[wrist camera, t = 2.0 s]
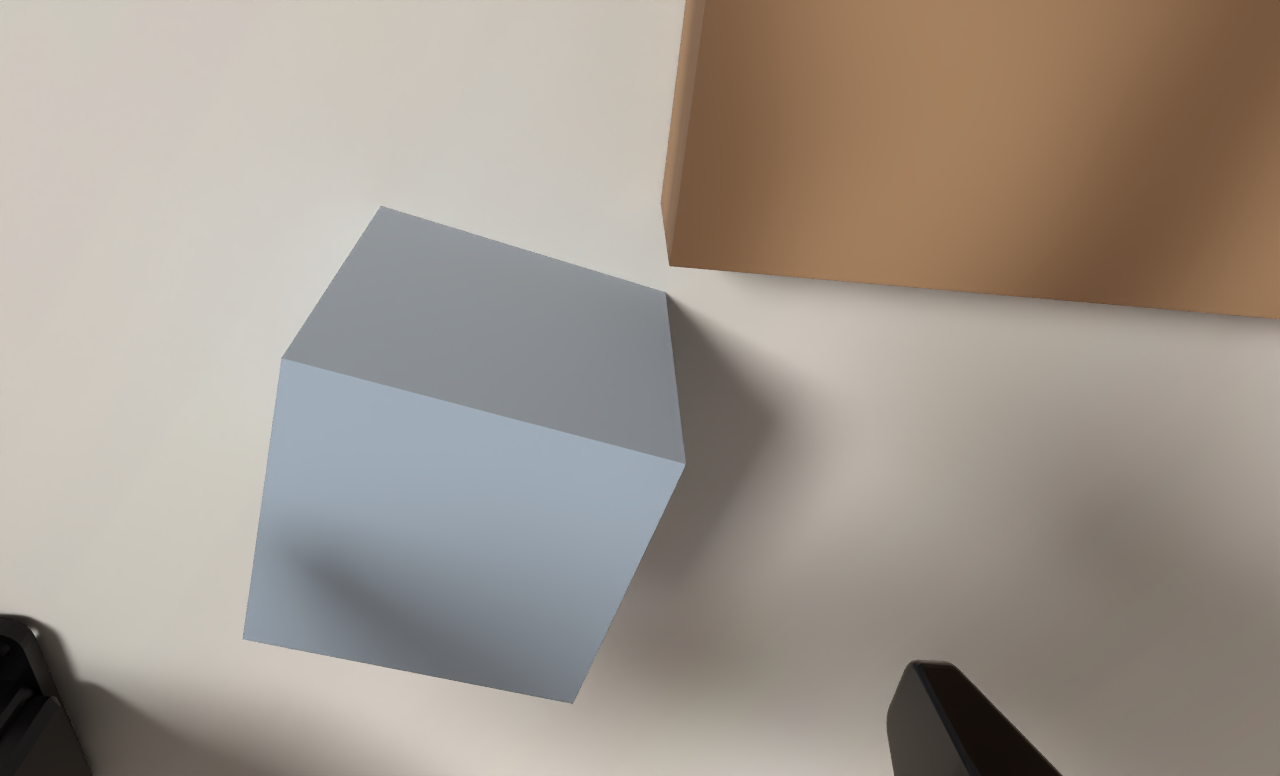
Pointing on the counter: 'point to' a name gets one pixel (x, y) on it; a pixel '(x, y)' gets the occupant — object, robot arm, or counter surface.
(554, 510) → the block
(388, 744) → the counter surface
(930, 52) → the base
